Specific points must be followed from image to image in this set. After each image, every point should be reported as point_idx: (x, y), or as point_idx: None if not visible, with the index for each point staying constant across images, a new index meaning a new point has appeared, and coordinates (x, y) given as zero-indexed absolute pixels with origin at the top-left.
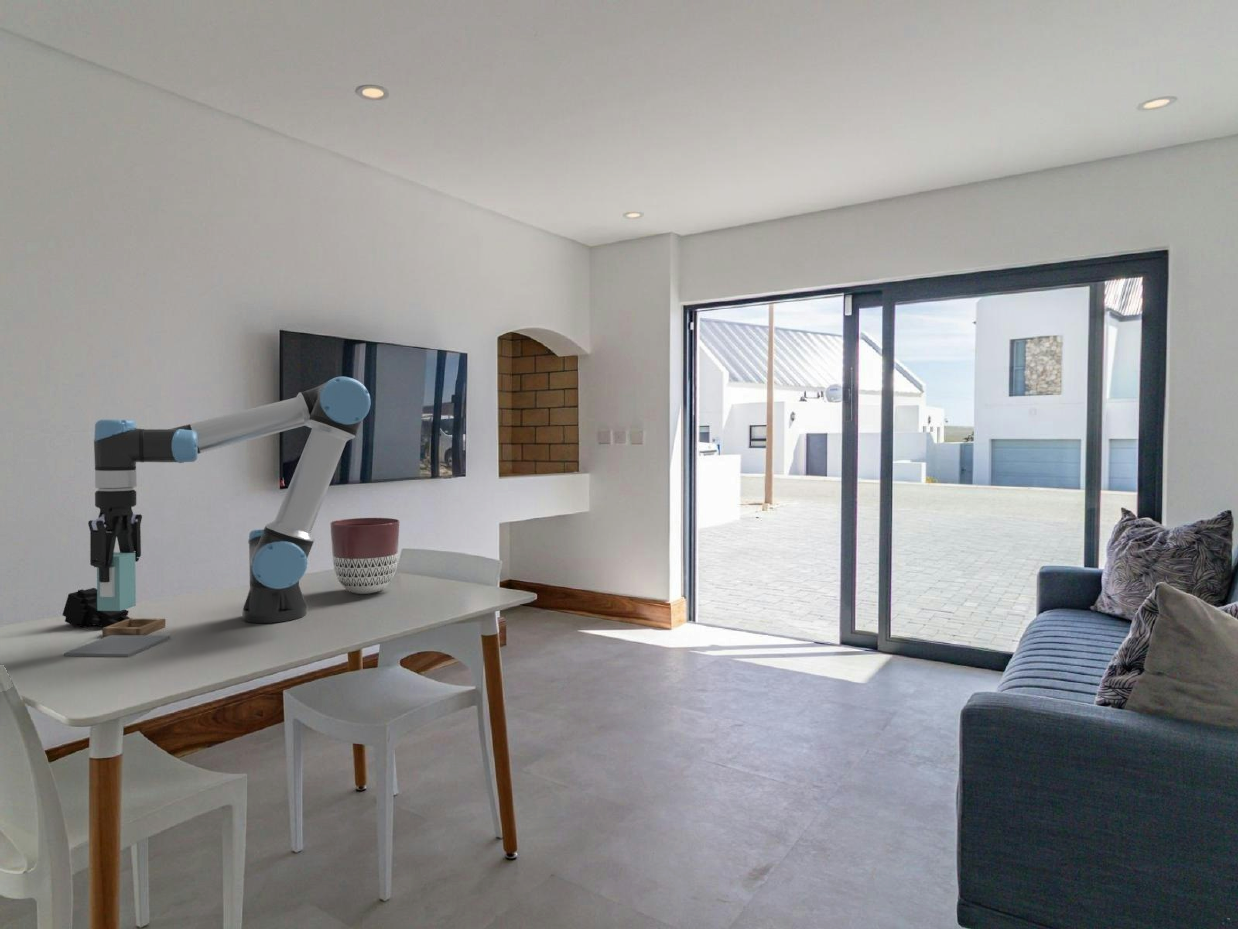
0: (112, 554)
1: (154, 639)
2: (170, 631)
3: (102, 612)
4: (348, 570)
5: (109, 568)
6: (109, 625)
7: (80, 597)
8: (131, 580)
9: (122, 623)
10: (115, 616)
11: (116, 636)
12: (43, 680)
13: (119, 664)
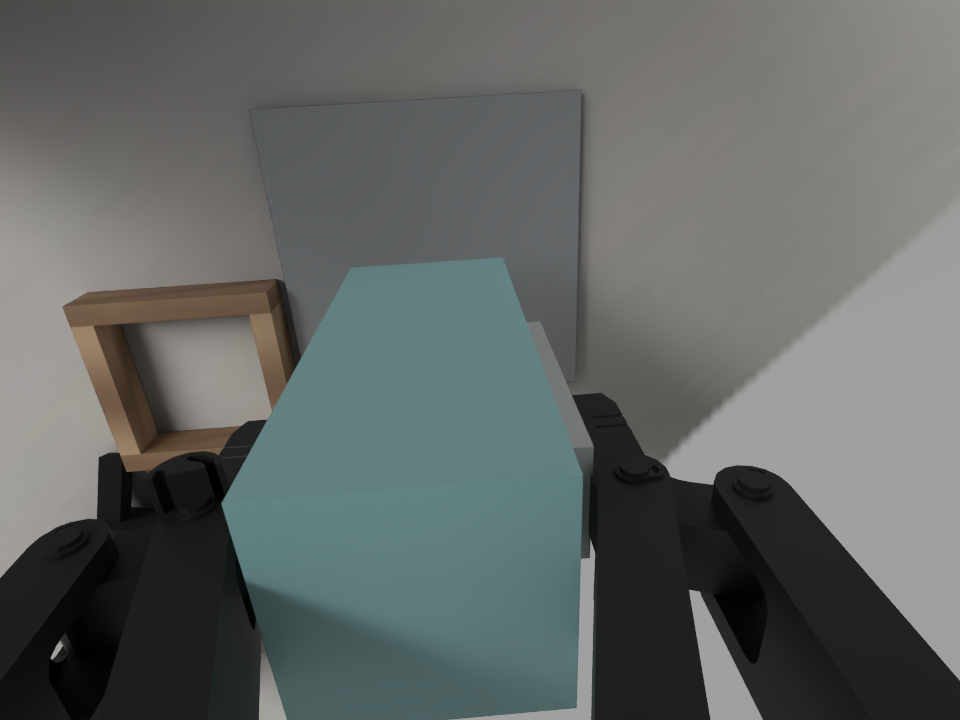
0: (614, 566)
1: (333, 146)
2: (144, 208)
3: None
4: None
5: (587, 466)
6: None
7: None
8: (367, 333)
9: (198, 446)
10: (147, 526)
11: None
12: (874, 209)
13: (690, 42)
